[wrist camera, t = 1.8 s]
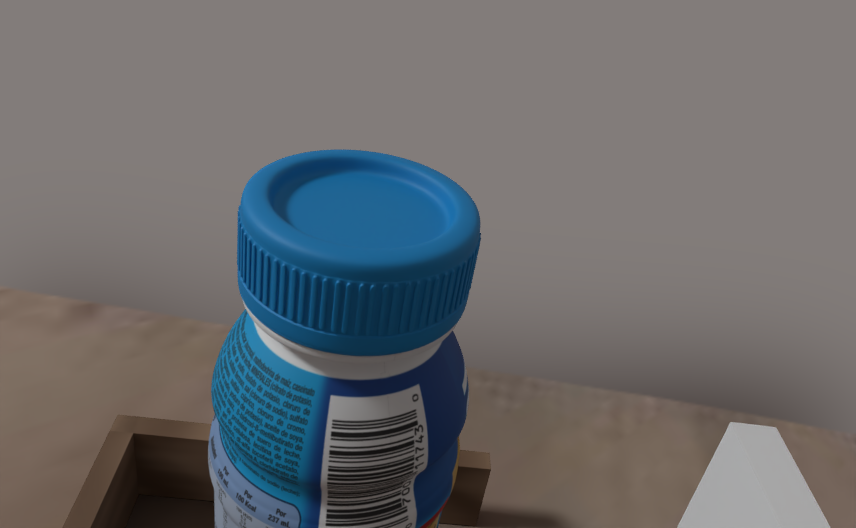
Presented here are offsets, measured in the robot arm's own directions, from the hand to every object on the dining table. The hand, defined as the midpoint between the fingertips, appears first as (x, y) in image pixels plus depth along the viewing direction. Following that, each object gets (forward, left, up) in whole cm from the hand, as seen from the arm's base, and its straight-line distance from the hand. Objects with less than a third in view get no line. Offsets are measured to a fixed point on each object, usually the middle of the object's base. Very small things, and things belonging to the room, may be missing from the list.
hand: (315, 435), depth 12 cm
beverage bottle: (0, -10, -21) cm, 23 cm away
